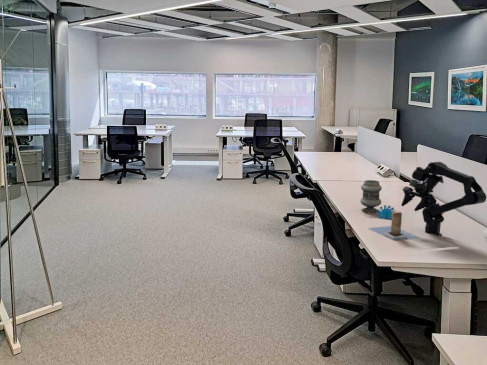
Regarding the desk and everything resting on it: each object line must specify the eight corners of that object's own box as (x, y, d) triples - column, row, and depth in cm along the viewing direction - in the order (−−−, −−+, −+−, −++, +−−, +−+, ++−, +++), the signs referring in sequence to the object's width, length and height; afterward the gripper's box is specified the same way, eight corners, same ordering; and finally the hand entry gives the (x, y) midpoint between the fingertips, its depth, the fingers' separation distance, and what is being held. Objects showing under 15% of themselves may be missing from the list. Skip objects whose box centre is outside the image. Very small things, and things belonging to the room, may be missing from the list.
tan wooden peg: (393, 234, 236) (394, 210, 234) (401, 236, 233) (403, 212, 231) (389, 236, 233) (390, 212, 231) (397, 238, 230) (399, 214, 228)
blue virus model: (373, 216, 268) (381, 202, 272) (375, 222, 273) (382, 208, 277) (393, 222, 262) (400, 208, 266) (394, 228, 267) (401, 213, 270)
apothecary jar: (355, 209, 292) (357, 179, 289) (373, 208, 296) (375, 179, 293) (366, 213, 281) (368, 183, 278) (384, 212, 285) (386, 182, 281)
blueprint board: (391, 227, 253) (391, 225, 252) (420, 239, 232) (420, 237, 232) (367, 230, 248) (367, 227, 247) (393, 242, 227) (394, 240, 227)
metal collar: (397, 233, 238) (397, 231, 238) (407, 238, 231) (407, 235, 231) (383, 235, 236) (384, 232, 235) (393, 239, 228) (393, 236, 228)
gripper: (407, 170, 244) (387, 193, 242) (434, 178, 227) (413, 202, 226) (418, 184, 249) (398, 207, 247) (445, 193, 232) (424, 217, 230)
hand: (408, 208), depth 237 cm, fingers open, 9 cm apart
